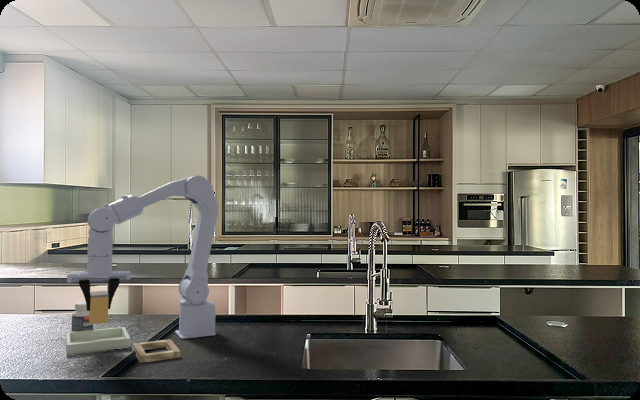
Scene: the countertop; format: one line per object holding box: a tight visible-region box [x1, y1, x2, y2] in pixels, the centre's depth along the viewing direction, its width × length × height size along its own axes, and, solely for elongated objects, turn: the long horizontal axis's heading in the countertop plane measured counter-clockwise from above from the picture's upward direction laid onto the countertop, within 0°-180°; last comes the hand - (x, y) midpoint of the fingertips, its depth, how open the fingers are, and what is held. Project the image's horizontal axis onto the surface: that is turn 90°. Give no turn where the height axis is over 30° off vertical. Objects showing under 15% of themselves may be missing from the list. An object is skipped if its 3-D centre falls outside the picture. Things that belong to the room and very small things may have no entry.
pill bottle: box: [70, 301, 94, 332], centre depth 127 cm, size 5×5×9 cm
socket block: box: [132, 338, 181, 364], centre depth 114 cm, size 9×11×2 cm
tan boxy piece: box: [89, 290, 109, 325], centre depth 119 cm, size 4×6×7 cm, turn 29°
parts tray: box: [65, 326, 131, 357], centre depth 119 cm, size 14×12×2 cm
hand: (98, 309), depth 119 cm, fingers closed on tan boxy piece, 4 cm apart
